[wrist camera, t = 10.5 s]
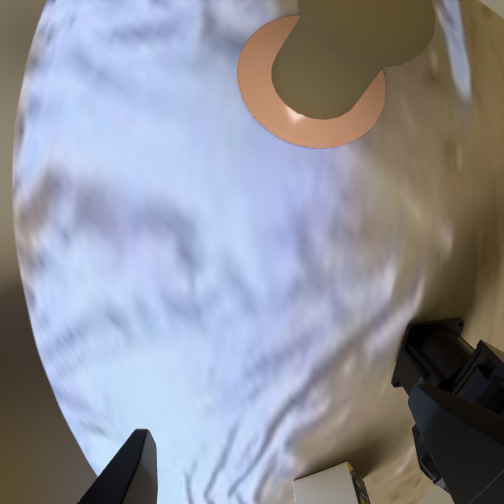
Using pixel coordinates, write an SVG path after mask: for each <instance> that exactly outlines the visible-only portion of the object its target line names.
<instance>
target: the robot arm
mask: <svg viewBox="0 0 504 504" xmlns="http://www.w3.org/2000/svg"><path fill="white" fill-rule="evenodd" d="M459 323H460V324H459ZM463 326H464V320H463V319H461V318H455V319H447V320H440V321H431V322H423V323H413V324H410V325H409V326H408V327H407V329H406V333H405V337H404V341H403V345H402V348H401V350H400V353H399V357H398V360H397V364H396V367H395V370H394V375H393V378H392V381H391V384H392V385H393V387H402V386H403V388H404V389H405V391H406V393H407V394H408V396H409V399H408V405H409V408H410V410H411V413H412V415H413V418H414V420H415V423H416V424H415V425H414V426H413V427H412V432H413V437H414V442H415V447H416V452H417V458H418V463H419V466H420V469H421V470H422V471H423V472H424V474H425V475H426V476H427V477H428V478H429V479H431V480H432V481H433V483H434V484H435V485H437V486H439V487H441V488H443V489H444V490H445V491H447V492H448V493H449V494H450V495H451V497H452V499H453V501H454V503H455V504H504V352H502V351H500V350H499V349H497V348H495V347H493V346H492V345H490V344H488V343H486V342H484V341H483V340H480V341H479V343H478V344H477V348H476V349H474V348H473V347H472V346H471V345H469V344H468V343H467V342H466V341H465V340H464V339H463V338H462V337H461V333H462V329H463ZM412 329H413V331H411V330H412ZM396 382H397V383H396ZM157 493H158V480H157V450H156V444H155V441H154V439H153V437H152V435H151V433H150V431H149V430H148V429H135V430H134V432H133V433H132V434H131V435H130V437H129V438H128V439H127V441H126V442H125V443H124V444H123V446H122V447H121V448H120V450H119V451H118V452H117V454H116V455H115V456H114V457H113V459H112V460H111V461H110V462H109V464H108V465H107V466H106V468H105V469H104V470H103V471H102V473H101V474H100V475H99V477H98V478H97V479H96V480H95V482H94V483H93V484H92V486H91V487H90V488H89V489H88V491H87V492H86V493H85V494H84V496H83V497H82V498H81V499H80V502H78V503H77V504H157Z"/></svg>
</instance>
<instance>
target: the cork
mask: <svg viewBox="0 0 504 504" xmlns="http://www.w3.org/2000/svg"><path fill="white" fill-rule="evenodd" d="M298 8H299V12H300V15H301V16H300V18H299V19H298V21H297V23H296V24H295V26H294V27H293V29H292V31H291V32H290V34H289V35H288V37H287V39H286V40H285V42H284V43H283V45H282V47H281V48H280V50H279V52H278V53H277V55H276V57H275V60H274V62H273V65H272V71H271V80H272V83H273V86H274V88H275V91H276V93H277V95H278V96H279V97H280V98H281V100H282V101H283V102H284V104H285V105H287V106H288V107H289V108H291V109H292V110H293V111H295V112H296V113H298V114H301V115H303V116H306V117H308V118H311V119H321V120H328V119H333V118H338V117H340V116H342V115H344V114H345V113H347V112H349V111H350V110H351V109H352V108H353V107H354V105H355V104H356V103H357V102H358V100H359V99H360V98H361V96H362V95H363V94H364V92H365V91H366V90H367V88H368V87H369V86H370V84H371V83H372V82H373V80H374V79H375V78H376V76H377V75H378V74H379V72H380V71H381V70H382V68H383V67H388V66H396V65H401V64H403V63H405V62H407V61H409V60H411V59H413V58H415V57H416V56H418V55H420V54H421V53H422V51H423V50H424V49H425V47H426V46H427V45H428V43H429V42H430V40H431V38H432V37H433V32H434V24H435V15H434V11H433V8H432V4H431V1H430V0H298Z"/></svg>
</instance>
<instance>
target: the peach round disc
mask: <svg viewBox="0 0 504 504" xmlns="http://www.w3.org/2000/svg"><path fill="white" fill-rule="evenodd" d="M300 16H301V15H294V16H288V17H283V18H280V19H277V20H274V21H272V22H270V23H268V24H266V25H264V26H263V27H261V28H260V29H259V30H257V31H256V32H255V33H254V34H253V35H252V36H251V37H250V38H249V40H248V41H247V43H246V44H245V46H244V47H243V50H242V52H241V54H240V58H239V61H238V69H237V75H238V84H239V89H240V93H241V96H242V99H243V102H244V103H245V105H246V107H247V109H248V111H249V112H250V113H251V115H252V116H253V118H254V119H255V120H256V121H257V122H258V123H259V124H260V125H261V126H262V127H263V128H265V129H266V130H267V131H268V132H270V133H271V134H273V135H274V136H276V137H278V138H280V139H282V140H283V141H286V142H288V143H291V144H294V145H297V146H301V147H306V148H314V149H325V148H333V147H337V146H341V145H344V144H347V143H349V142H352V141H354V140H356V139H358V138H359V137H361V136H363V135H364V134H365V133H366V132H368V131H369V130H370V129H371V128H372V127H373V125H374V124H375V123H376V121H377V120H378V118H379V117H380V114H381V112H382V110H383V107H384V103H385V97H386V83H385V77H384V73H383V70H381V71H380V72H379V74H378V75H377V76H376V78H375V79H374V80H373V82H372V83H371V84H370V86H369V87H368V88H367V90H366V91H365V92H364V94H363V95H362V96H361V98H360V99H359V100H358V102H357V103H356V104H355V105H354V107H353V108H352V109H351V110H350V111H349V112H347V113H345V114H344V115H342V116H340V117H338V118H333V119H328V120H321V119H311V118H308V117H306V116H303V115H301V114H298V113H296V112H295V111H293V110H292V109H291V108H289V107H288V106H287V105H285V104H284V102H283V101H282V100H281V98H280V97H279V96H278V95H277V93H276V91H275V88H274V86H273V83H272V80H271V71H272V65H273V62H274V60H275V57H276V55H277V53H278V52H279V50H280V48H281V47H282V45H283V43H284V42H285V40H286V39H287V37H288V35H289V34H290V32H291V31H292V29H293V27H294V26H295V24H296V23H297V21H298V19H299V18H300Z"/></svg>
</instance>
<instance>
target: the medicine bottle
mask: <svg viewBox="0 0 504 504" xmlns="http://www.w3.org/2000/svg"><path fill="white" fill-rule="evenodd" d="M293 488H294V497H295V504H371V503H370V500H369V497H368V494H367V490H366V487H365V484H364V481H363V479H362V478H361V477H360V476H359V474H358V473H357V472H356V471H355V469H354V468H353V467H352V466H351V465H350V463H349V462H344V463H341V464H339V465H336V466H334V467H331V468H329V469H326V470H323V471H321V472H318V473H315V474H312V475H310V476H307V477H304V478H301V479H298V480H295V481H294V482H293Z"/></svg>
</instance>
